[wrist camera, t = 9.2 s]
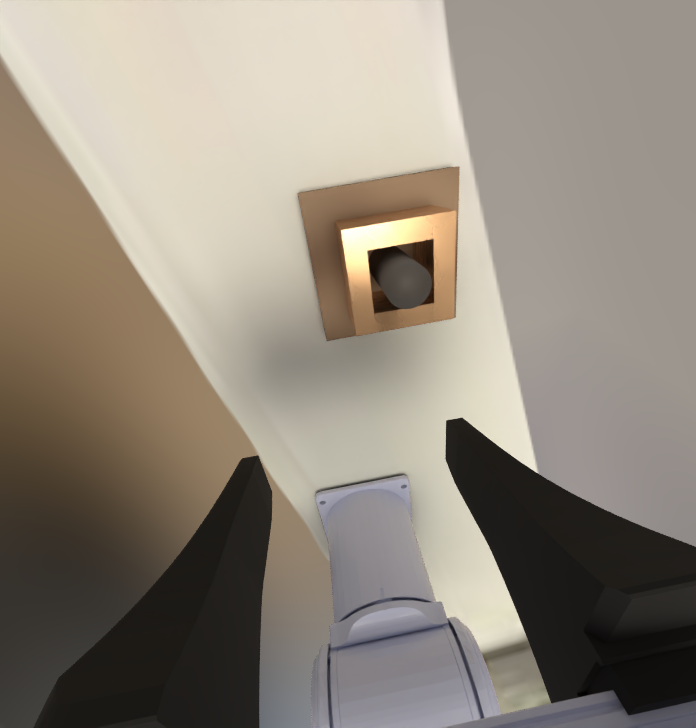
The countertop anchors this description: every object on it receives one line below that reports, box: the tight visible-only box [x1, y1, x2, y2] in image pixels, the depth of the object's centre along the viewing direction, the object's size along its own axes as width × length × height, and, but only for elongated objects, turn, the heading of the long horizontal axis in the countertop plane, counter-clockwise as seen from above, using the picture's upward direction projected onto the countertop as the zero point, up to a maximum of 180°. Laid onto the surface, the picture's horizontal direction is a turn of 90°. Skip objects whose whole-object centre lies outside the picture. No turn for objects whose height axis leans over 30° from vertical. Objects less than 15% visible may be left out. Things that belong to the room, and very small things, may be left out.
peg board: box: [298, 167, 459, 341], centre depth 16 cm, size 8×8×6 cm
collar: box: [335, 205, 456, 336], centre depth 17 cm, size 5×5×3 cm
